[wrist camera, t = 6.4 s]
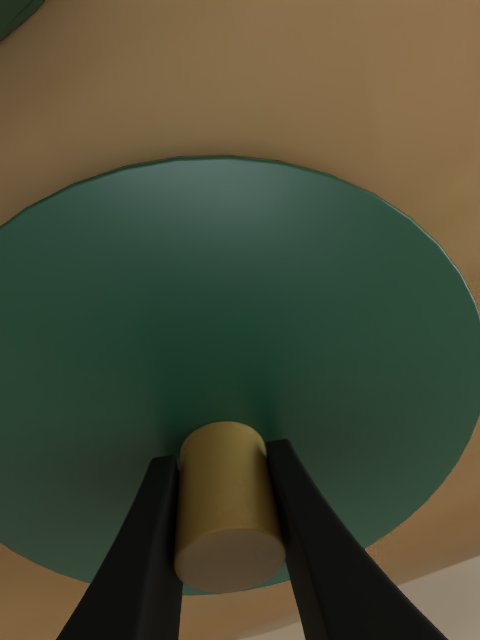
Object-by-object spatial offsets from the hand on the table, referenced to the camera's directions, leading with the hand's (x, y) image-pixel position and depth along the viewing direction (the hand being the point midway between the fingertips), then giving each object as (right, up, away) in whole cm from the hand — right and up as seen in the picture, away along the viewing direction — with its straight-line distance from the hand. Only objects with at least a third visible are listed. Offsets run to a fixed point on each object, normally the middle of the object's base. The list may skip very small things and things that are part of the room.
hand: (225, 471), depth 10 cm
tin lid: (0, +1, +1) cm, 1 cm away
